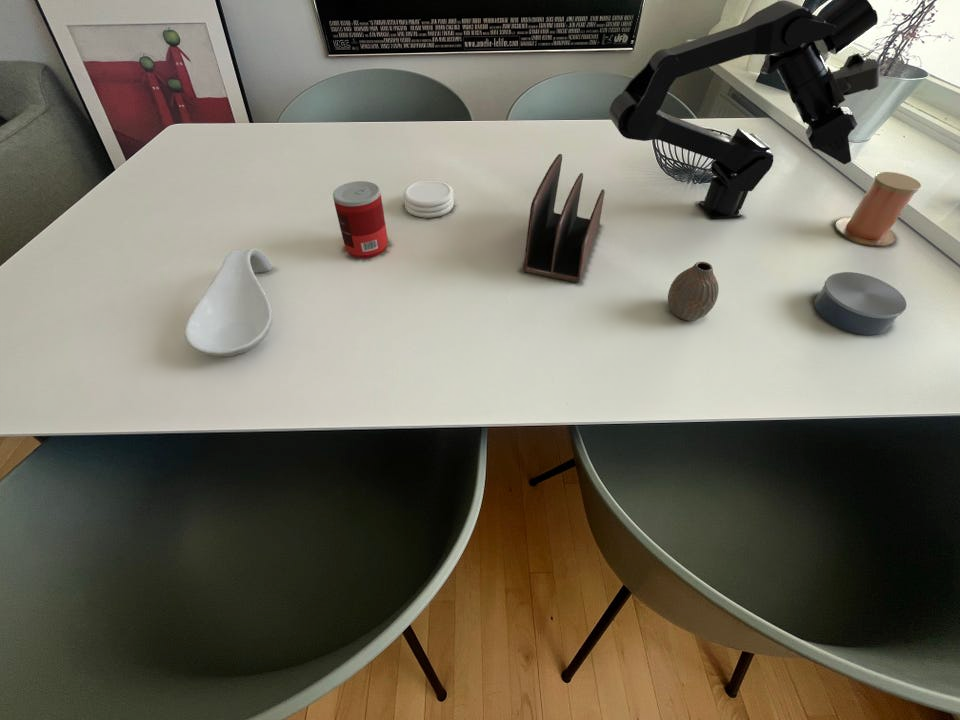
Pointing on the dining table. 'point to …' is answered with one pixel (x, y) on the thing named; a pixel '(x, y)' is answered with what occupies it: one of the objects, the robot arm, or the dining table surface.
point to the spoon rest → (232, 308)
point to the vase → (693, 292)
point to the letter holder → (559, 230)
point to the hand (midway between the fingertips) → (842, 151)
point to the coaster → (428, 199)
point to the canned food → (361, 219)
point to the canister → (882, 205)
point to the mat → (847, 234)
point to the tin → (859, 303)
